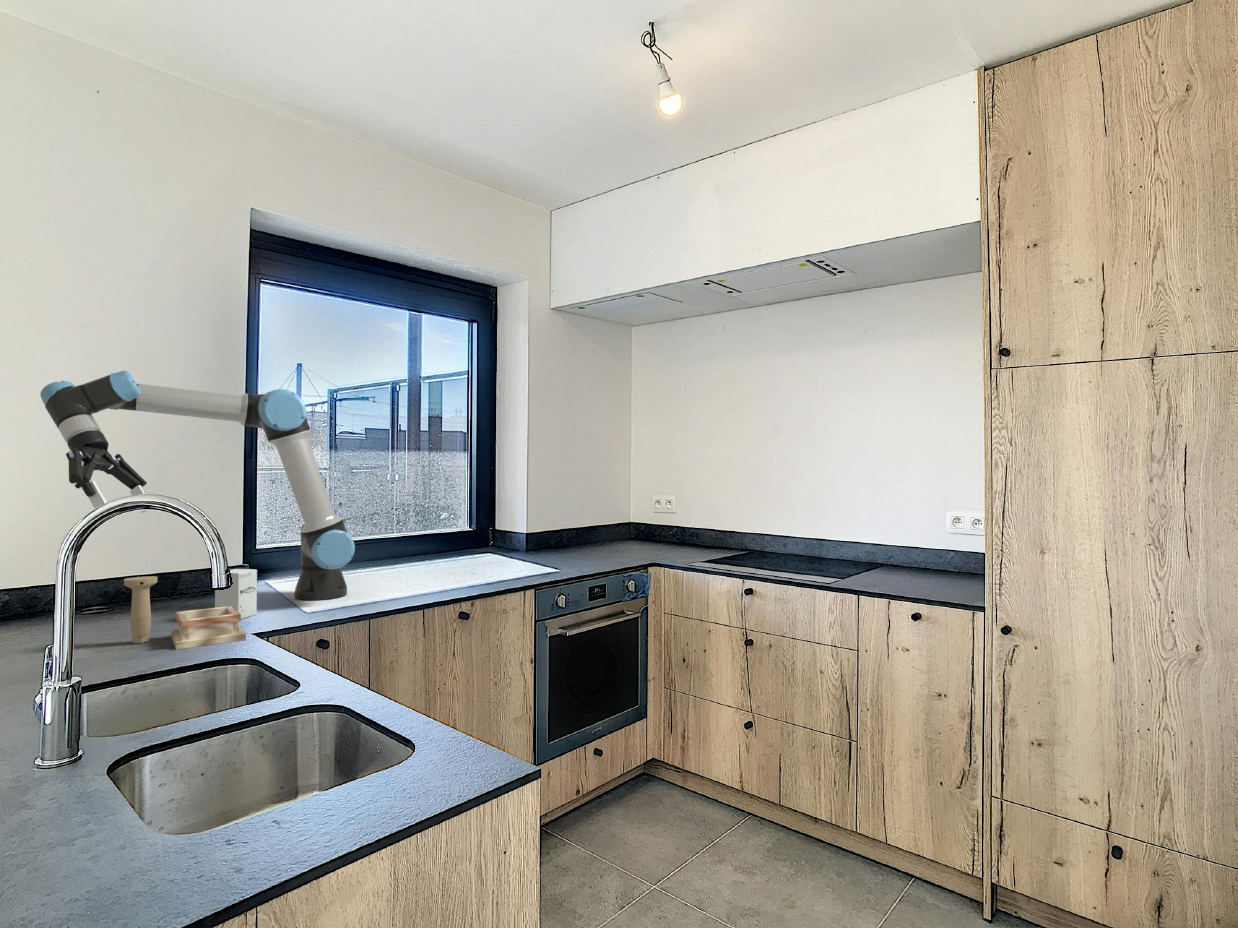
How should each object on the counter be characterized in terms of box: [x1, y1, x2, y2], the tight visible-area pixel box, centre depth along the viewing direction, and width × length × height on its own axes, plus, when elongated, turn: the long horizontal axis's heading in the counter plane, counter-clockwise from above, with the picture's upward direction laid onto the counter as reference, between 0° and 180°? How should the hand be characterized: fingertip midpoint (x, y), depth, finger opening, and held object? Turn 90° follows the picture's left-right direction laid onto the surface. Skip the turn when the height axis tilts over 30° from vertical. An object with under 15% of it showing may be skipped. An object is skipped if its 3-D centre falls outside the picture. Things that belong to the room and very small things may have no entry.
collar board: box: [170, 606, 247, 650], centre depth 166 cm, size 14×14×6 cm
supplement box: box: [214, 568, 258, 620], centre depth 188 cm, size 7×7×13 cm
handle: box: [123, 575, 158, 645], centre depth 162 cm, size 5×6×15 cm
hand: (125, 508), depth 167 cm, fingers open, 13 cm apart
